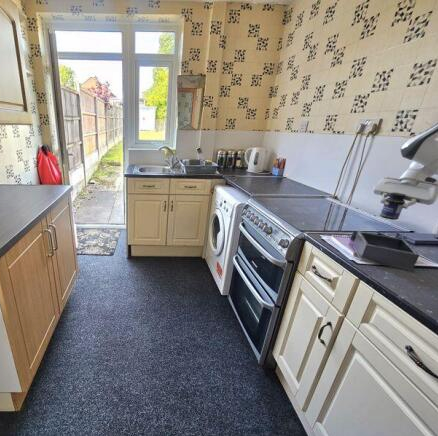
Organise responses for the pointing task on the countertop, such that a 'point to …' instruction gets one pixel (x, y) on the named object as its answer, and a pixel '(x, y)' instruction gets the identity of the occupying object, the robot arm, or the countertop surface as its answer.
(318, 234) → the countertop surface
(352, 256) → the countertop surface
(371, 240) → the dark grey square box
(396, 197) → the pill bottle
